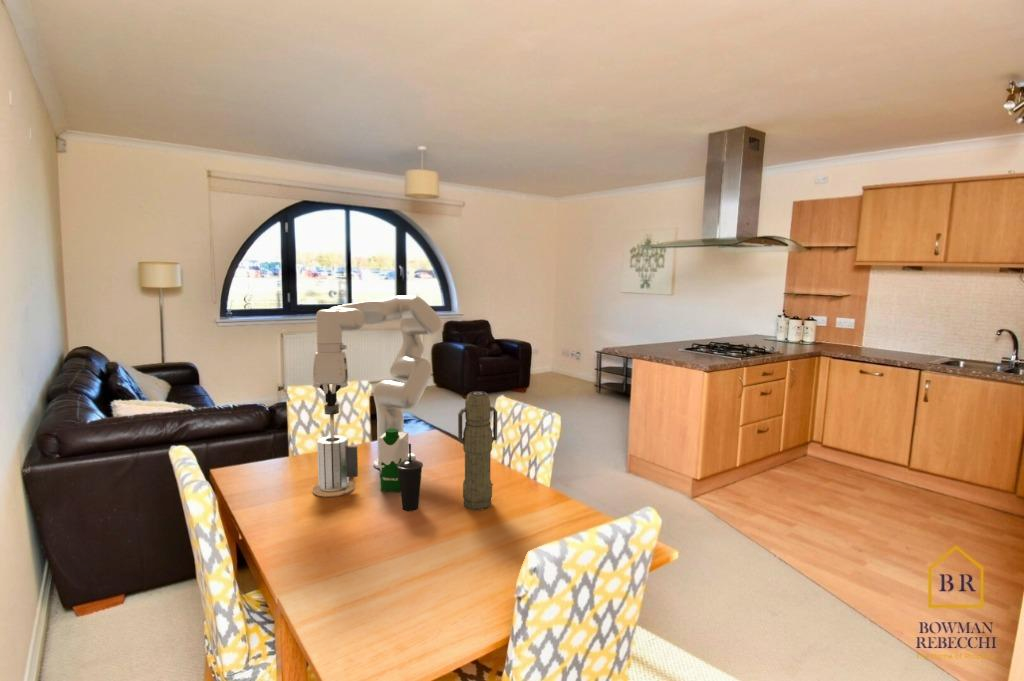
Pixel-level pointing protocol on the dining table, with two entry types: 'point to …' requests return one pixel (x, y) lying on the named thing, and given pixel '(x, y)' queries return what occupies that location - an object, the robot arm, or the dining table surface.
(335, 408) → the plunger
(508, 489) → the dining table surface
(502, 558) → the dining table surface
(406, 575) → the dining table surface
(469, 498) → the thermos
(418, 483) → the drinking cup
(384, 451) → the milk carton
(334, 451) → the cafetiere
